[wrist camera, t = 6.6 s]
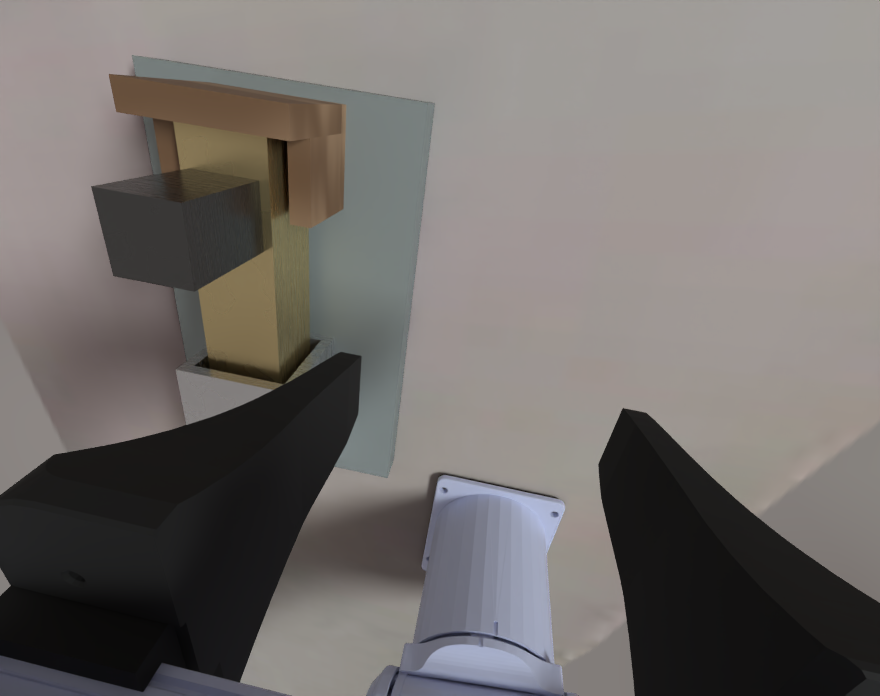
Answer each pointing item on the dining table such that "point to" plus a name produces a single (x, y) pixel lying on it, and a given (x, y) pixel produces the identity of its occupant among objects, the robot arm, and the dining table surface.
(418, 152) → the slate board
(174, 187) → the brushed brass bar
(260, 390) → the aluminium sleeve
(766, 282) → the dining table surface
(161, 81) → the walnut socket
